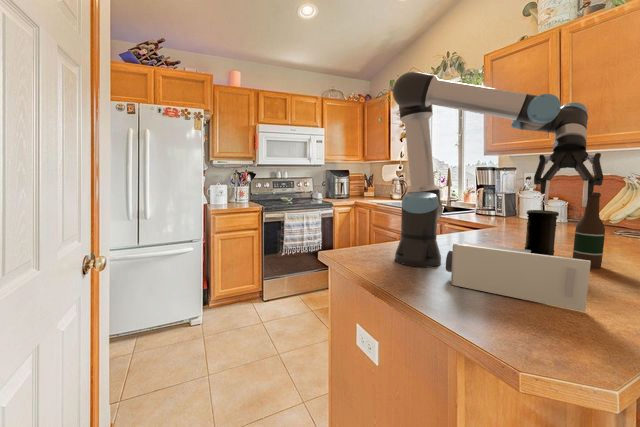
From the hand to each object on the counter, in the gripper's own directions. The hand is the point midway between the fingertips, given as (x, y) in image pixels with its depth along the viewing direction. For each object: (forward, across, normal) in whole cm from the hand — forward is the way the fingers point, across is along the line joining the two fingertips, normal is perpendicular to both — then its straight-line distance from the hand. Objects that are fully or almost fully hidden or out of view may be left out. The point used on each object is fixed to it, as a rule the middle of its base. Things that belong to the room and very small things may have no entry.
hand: (564, 202), depth 80 cm
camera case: (+23, +15, -8) cm, 29 cm away
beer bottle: (-5, -7, -37) cm, 38 cm away
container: (+2, +5, -31) cm, 31 cm away
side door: (+28, +9, -4) cm, 29 cm away
